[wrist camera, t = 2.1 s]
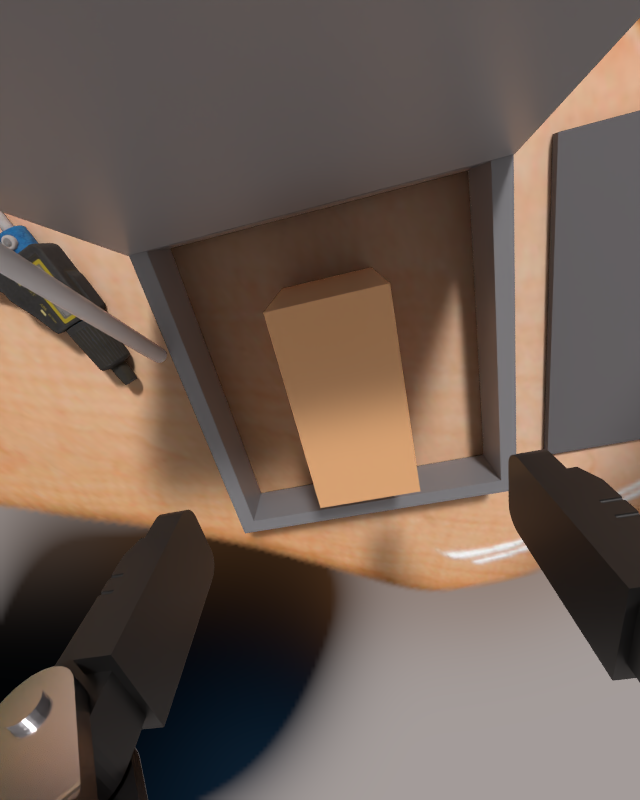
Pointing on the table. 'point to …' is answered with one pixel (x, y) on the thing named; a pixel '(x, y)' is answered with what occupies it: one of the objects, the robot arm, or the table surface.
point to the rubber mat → (594, 287)
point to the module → (346, 385)
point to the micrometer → (60, 267)
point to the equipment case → (282, 159)
